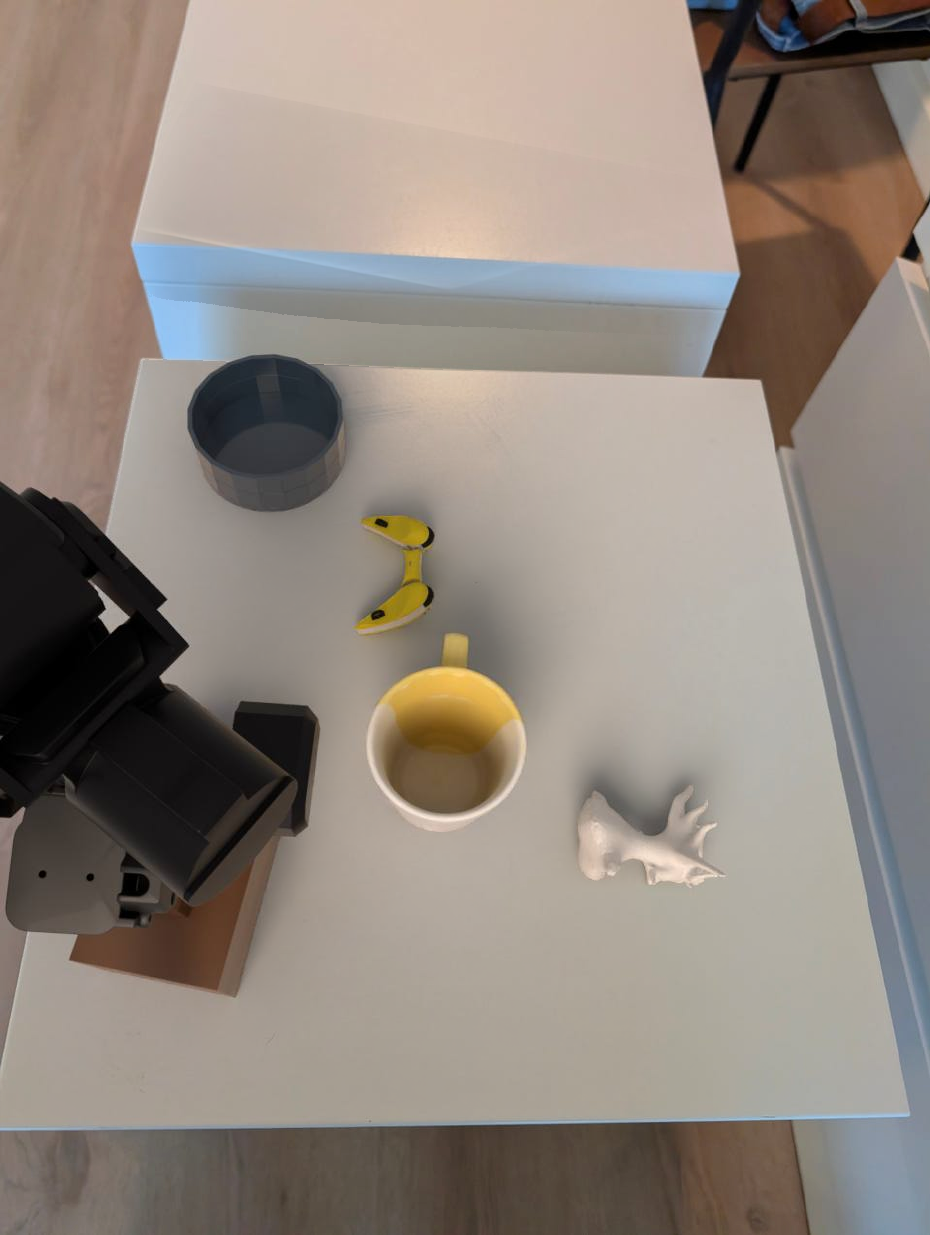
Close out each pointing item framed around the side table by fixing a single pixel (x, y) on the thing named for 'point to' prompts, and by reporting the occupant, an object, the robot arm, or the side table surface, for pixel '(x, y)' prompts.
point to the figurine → (644, 843)
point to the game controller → (413, 592)
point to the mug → (446, 743)
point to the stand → (189, 938)
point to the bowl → (268, 432)
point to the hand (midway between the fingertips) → (161, 800)
